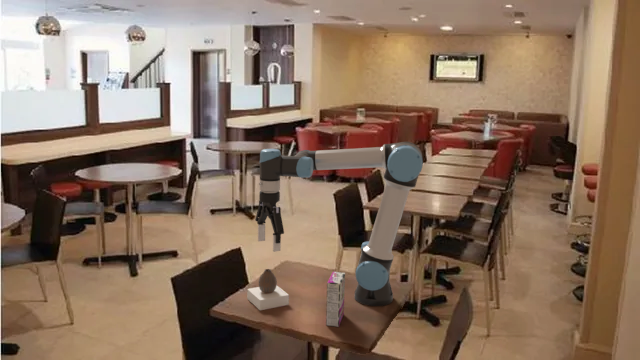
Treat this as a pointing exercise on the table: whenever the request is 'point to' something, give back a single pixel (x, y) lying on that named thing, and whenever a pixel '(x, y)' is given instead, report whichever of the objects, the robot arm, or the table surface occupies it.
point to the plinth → (267, 298)
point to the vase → (267, 282)
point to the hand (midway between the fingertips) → (268, 245)
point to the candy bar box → (335, 299)
